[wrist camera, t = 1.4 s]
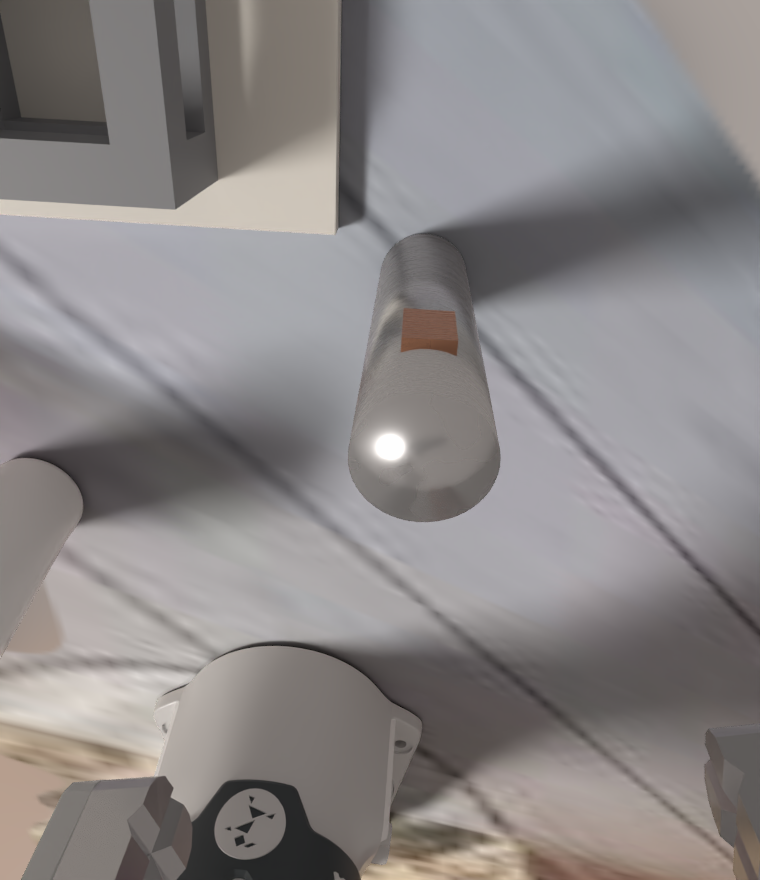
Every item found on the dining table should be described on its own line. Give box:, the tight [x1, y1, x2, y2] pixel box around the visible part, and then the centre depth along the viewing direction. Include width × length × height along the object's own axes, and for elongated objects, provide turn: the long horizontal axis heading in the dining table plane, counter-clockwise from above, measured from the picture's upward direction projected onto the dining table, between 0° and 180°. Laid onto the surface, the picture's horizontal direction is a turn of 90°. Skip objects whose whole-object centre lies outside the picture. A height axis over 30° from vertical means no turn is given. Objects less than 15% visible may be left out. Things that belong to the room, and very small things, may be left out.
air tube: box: [348, 234, 500, 522], centre depth 25 cm, size 4×4×16 cm
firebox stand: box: [0, 0, 342, 235], centre depth 23 cm, size 14×20×10 cm
